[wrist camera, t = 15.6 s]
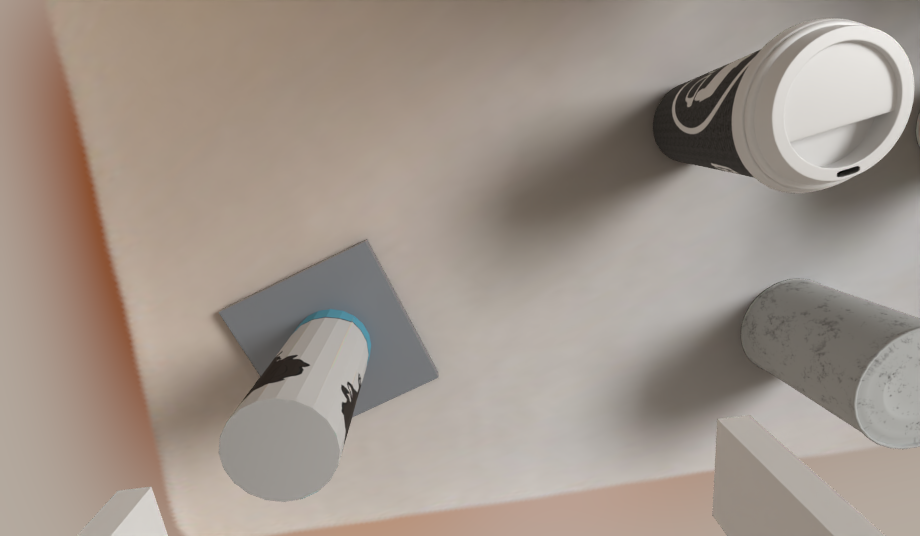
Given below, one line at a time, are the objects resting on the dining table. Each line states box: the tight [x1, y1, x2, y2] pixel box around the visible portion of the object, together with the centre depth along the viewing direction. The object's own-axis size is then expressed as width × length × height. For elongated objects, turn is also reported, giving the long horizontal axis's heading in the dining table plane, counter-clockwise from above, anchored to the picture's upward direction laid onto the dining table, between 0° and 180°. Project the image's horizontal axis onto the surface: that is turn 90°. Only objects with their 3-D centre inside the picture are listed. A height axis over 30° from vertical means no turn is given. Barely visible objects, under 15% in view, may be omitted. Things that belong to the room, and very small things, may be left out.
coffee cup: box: [653, 18, 914, 193], centre depth 32 cm, size 10×10×15 cm
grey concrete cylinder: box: [741, 278, 920, 449], centre depth 39 cm, size 10×10×12 cm
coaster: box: [219, 240, 438, 417], centre depth 42 cm, size 14×14×1 cm
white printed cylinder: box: [219, 309, 371, 502], centre depth 34 cm, size 7×7×15 cm
